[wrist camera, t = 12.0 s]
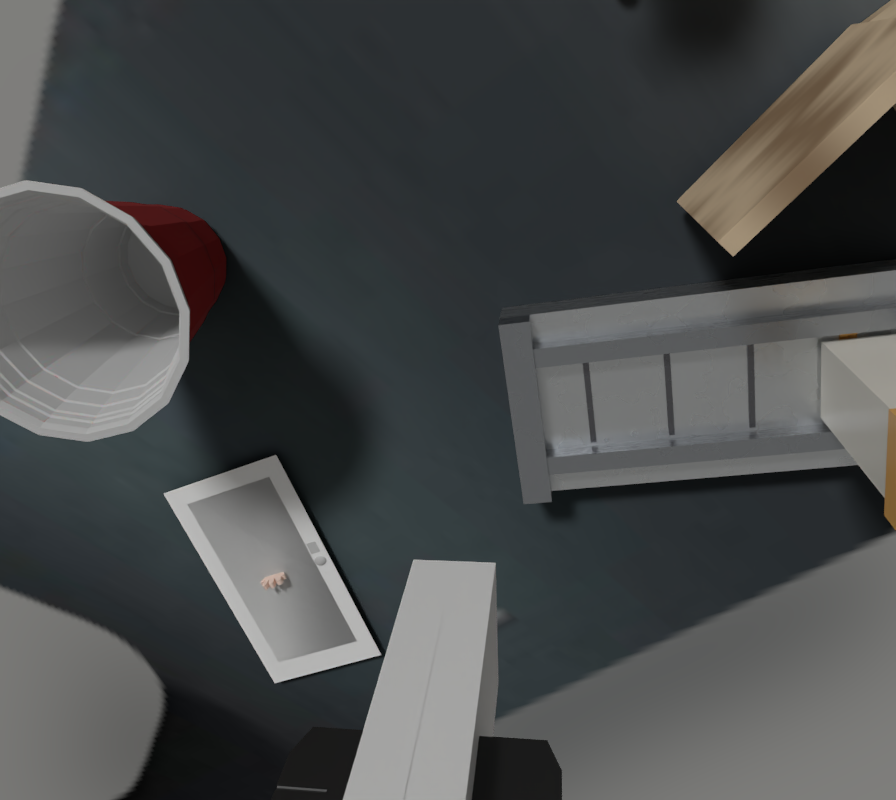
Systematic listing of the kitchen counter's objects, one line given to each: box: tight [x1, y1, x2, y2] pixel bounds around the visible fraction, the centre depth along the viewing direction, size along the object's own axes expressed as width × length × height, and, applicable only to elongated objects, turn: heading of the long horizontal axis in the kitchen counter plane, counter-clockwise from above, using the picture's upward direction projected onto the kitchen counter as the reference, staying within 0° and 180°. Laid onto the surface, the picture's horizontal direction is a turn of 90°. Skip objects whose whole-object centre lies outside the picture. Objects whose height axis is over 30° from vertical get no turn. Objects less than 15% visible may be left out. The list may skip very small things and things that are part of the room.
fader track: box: [499, 259, 896, 504], centre depth 40 cm, size 24×10×3 cm, turn 99°
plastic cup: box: [0, 180, 226, 442], centre depth 37 cm, size 11×11×12 cm
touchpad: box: [164, 455, 381, 683], centre depth 49 cm, size 8×15×2 cm, turn 23°
